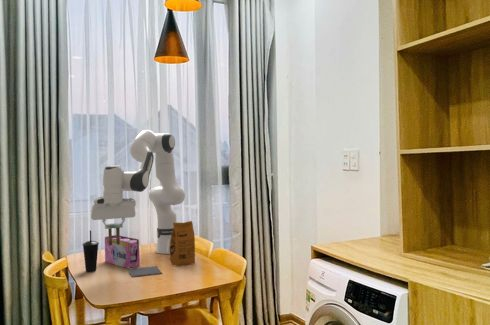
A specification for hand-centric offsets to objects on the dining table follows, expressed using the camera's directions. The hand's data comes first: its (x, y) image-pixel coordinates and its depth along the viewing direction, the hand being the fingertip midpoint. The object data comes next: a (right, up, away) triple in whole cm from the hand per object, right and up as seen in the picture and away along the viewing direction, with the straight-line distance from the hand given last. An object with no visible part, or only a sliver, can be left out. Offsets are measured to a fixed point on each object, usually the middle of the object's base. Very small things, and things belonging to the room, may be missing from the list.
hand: (113, 227), depth 198 cm
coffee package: (+30, -22, +20) cm, 42 cm away
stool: (0, -8, 0) cm, 8 cm away
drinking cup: (-14, -23, +7) cm, 27 cm away
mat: (+14, -22, +3) cm, 26 cm away
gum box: (-3, -23, +22) cm, 31 cm away
